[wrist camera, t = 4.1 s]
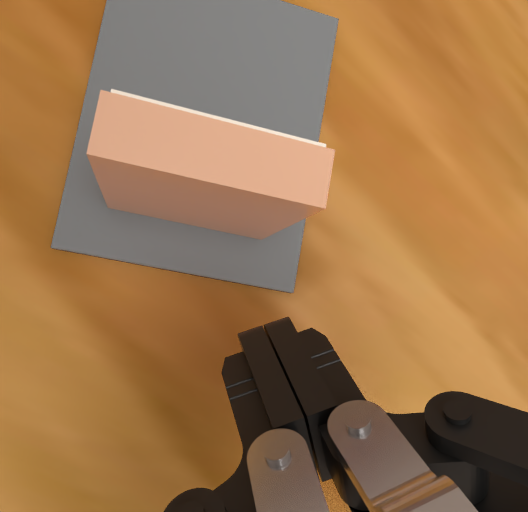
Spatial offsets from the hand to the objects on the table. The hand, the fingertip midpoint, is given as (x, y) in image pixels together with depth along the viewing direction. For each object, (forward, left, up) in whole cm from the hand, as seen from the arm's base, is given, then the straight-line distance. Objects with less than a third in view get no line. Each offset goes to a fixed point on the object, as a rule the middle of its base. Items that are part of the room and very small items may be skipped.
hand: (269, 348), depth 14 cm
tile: (+2, +7, -15) cm, 17 cm away
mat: (+5, +11, -16) cm, 20 cm away
